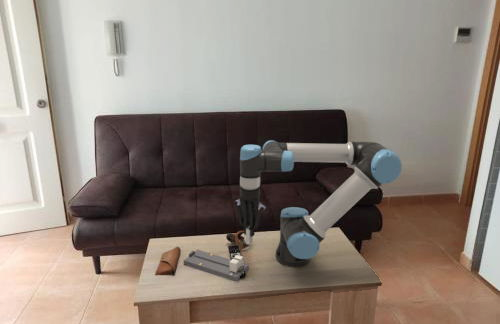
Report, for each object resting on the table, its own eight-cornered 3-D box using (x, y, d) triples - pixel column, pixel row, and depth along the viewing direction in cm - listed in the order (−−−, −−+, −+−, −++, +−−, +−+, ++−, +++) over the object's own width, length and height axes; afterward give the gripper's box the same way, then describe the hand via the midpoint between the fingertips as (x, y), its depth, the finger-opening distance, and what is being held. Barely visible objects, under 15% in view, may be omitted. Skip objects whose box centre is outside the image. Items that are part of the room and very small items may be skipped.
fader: (243, 265, 152) (243, 256, 151) (236, 272, 147) (236, 263, 146) (236, 263, 153) (236, 254, 152) (229, 270, 148) (229, 261, 147)
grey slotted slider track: (248, 269, 154) (248, 262, 153) (236, 281, 145) (236, 274, 144) (197, 253, 165) (197, 247, 164) (183, 264, 157) (183, 257, 156)
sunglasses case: (161, 252, 166) (168, 240, 164) (175, 259, 167) (182, 247, 165) (154, 276, 148) (161, 263, 147) (169, 283, 150) (177, 270, 148)
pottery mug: (249, 240, 178) (253, 230, 173) (247, 257, 171) (252, 247, 166) (225, 234, 177) (229, 225, 171) (222, 251, 170) (226, 242, 164)
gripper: (270, 186, 137) (268, 242, 144) (239, 180, 143) (239, 234, 150) (261, 192, 131) (259, 251, 138) (229, 186, 136) (229, 242, 143)
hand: (249, 242), depth 144 cm, fingers closed
